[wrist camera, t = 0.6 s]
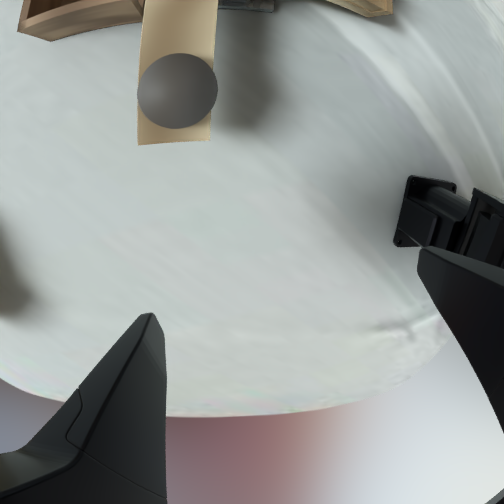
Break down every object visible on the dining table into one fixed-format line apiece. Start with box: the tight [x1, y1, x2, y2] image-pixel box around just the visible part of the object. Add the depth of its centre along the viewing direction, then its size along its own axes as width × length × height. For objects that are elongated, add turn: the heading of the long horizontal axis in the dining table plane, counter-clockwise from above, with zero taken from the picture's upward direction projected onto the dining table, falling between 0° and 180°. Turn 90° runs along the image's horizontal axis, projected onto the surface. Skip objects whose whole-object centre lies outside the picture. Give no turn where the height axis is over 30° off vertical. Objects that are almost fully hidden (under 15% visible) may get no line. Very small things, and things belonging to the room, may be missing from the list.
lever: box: [137, 0, 393, 145], centre depth 11 cm, size 15×16×2 cm
